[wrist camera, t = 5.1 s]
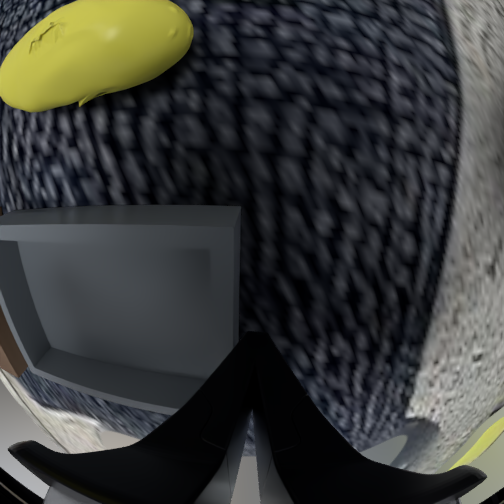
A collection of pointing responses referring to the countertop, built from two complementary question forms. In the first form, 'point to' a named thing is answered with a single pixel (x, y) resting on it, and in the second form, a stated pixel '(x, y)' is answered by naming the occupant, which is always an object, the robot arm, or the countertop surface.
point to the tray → (123, 297)
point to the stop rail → (10, 348)
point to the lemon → (93, 52)
